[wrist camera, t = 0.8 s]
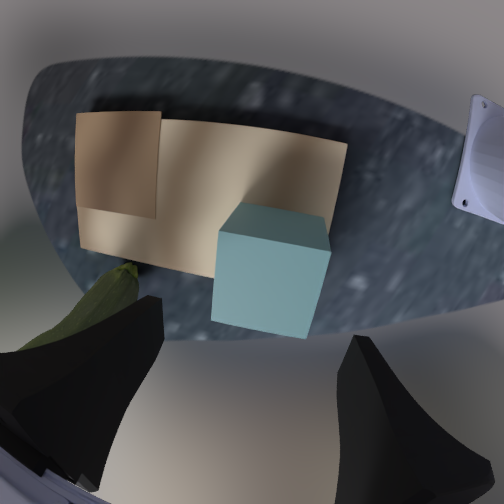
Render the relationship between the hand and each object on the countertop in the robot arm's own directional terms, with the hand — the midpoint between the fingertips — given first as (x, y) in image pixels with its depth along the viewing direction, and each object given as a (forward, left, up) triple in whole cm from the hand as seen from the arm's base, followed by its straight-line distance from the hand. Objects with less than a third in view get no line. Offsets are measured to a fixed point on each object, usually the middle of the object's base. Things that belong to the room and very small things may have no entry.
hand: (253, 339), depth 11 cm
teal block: (0, 0, -9) cm, 9 cm away
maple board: (+6, -2, -10) cm, 12 cm away
